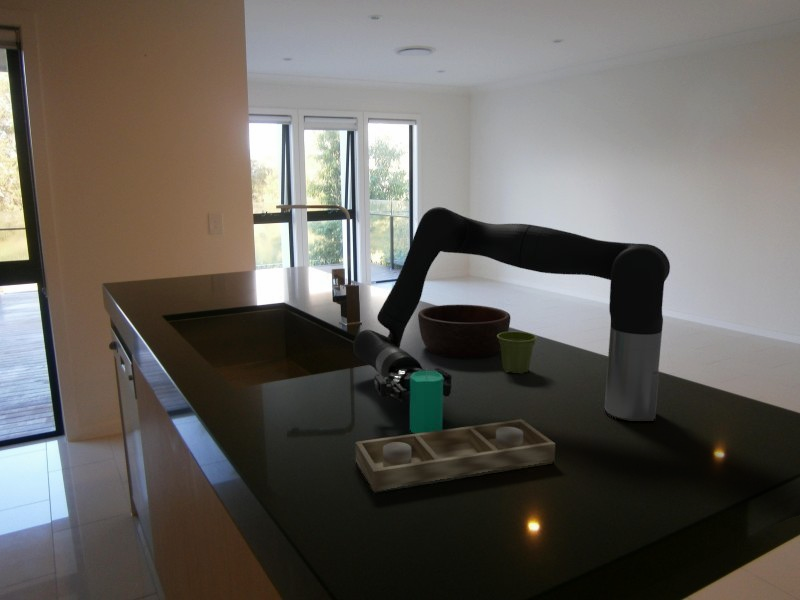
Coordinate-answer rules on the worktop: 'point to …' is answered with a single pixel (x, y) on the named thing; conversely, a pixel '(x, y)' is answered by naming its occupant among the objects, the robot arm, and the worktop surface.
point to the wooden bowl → (463, 330)
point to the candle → (426, 401)
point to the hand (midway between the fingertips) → (426, 393)
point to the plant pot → (516, 350)
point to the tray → (451, 453)
